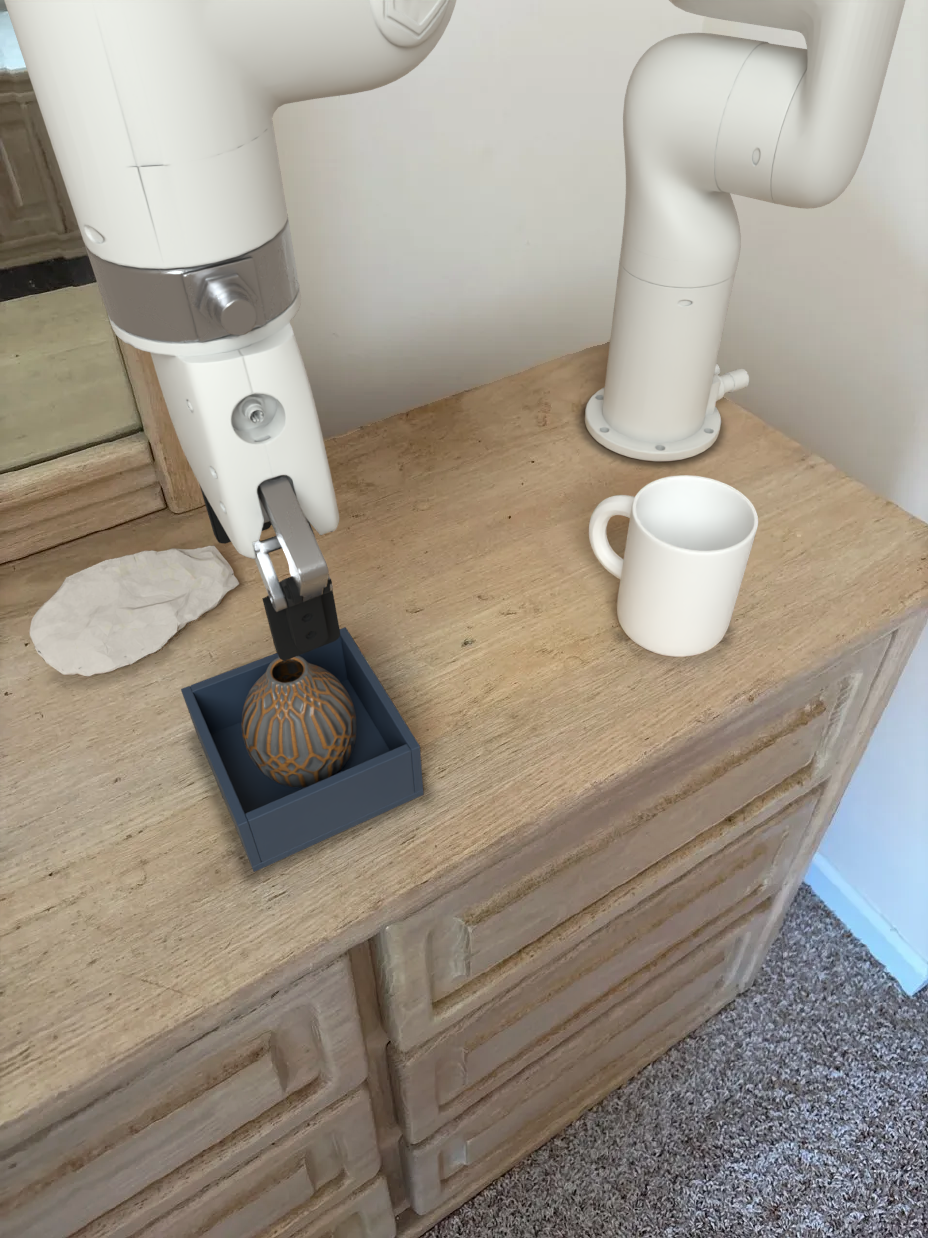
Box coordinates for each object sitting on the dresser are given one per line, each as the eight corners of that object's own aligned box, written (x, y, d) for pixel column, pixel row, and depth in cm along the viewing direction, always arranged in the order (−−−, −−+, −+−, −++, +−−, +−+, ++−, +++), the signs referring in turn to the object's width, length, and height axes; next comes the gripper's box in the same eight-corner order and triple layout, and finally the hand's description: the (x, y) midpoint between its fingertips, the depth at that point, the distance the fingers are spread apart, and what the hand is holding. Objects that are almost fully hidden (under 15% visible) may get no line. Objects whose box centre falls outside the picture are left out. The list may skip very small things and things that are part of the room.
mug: (553, 601, 69) (562, 493, 62) (615, 547, 73) (631, 440, 66) (689, 679, 63) (717, 571, 56) (748, 616, 68) (781, 507, 60)
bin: (353, 676, 64) (345, 626, 60) (423, 795, 57) (420, 746, 53) (198, 738, 60) (180, 688, 56) (253, 872, 53) (237, 826, 49)
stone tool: (70, 711, 64) (257, 616, 70) (61, 694, 61) (257, 596, 67) (16, 616, 66) (202, 532, 72) (5, 596, 63) (199, 509, 69)
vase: (269, 820, 55) (242, 732, 49) (241, 737, 59) (214, 646, 53) (376, 782, 57) (364, 692, 51) (341, 704, 61) (326, 613, 55)
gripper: (379, 346, 31) (411, 669, 43) (222, 179, 42) (284, 476, 54) (164, 409, 29) (263, 731, 41) (56, 214, 39) (160, 517, 52)
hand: (274, 586), depth 48 cm, fingers open, 9 cm apart
